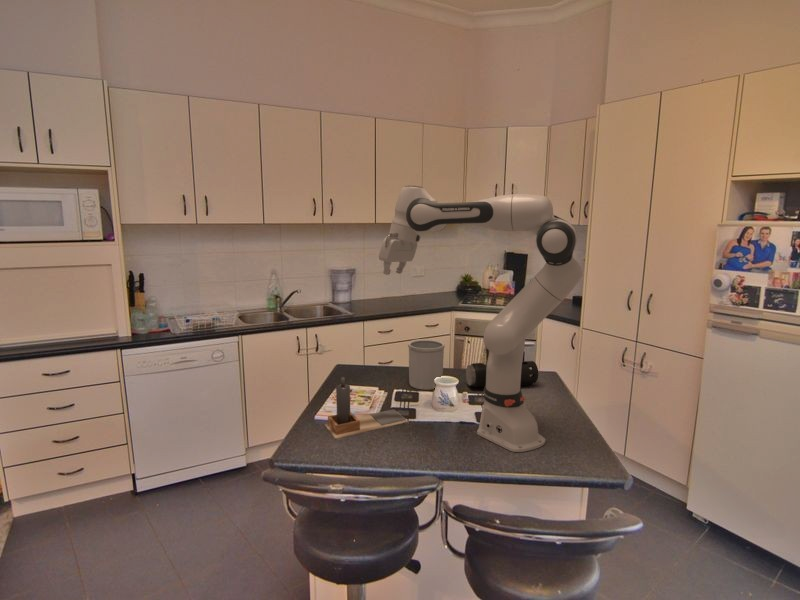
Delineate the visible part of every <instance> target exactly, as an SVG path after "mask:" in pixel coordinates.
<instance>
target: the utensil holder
mask: <svg viewBox="0 0 800 600" xmlns="http://www.w3.org/2000/svg"><path fill="white" fill-rule="evenodd" d="M407 345H408V346H407V347H408V377H409V378H408V381H409V386H410V387H412V388H414V389H417V390H425V391H427V390H428V391H429V390H430V391H431V390H435V389H434V388H435V384H434V379H435V378H436V377H441V376H444V353H445V352H444V351H445V343H444V342H443V341H441V340H437V339H433V338H432V339H429V338H422V339H421V338H420V339H418V338H417V339H413V340H410V341H409V342H408V344H407Z"/></svg>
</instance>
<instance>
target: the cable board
mask: <svg viewBox="0 0 800 600" xmlns="http://www.w3.org/2000/svg"><path fill="white" fill-rule="evenodd" d="M350 419H351V422H348V423H344V424H339V425H338V424H337V414H333V415H328V416H327V423H324V424H323V425H324V426H325V427H326V428H327V430H328V431H329V432H330V434H331V435H332V436H333V437H334V439H340V438H346V437H350V436H353V435H357V434H362V433H367V432H371V431H375V430H379V429H383V428H387V427H388V428H389V427H391V426H396V425H401V424H404V423H407V424H408V425H410V421H409V420H408V419H407V418H405V417H404V416H403V415H402V414H401V413H400V412H398V411H397V410H396V409H394V408H393V409H387V410H384V411H379V412H374V413H369V414H364V415H360V416H355V414H354V413H353V412H352V411H350Z"/></svg>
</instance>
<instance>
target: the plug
mask: <svg viewBox="0 0 800 600" xmlns="http://www.w3.org/2000/svg"><path fill="white" fill-rule="evenodd" d="M335 391H336V395H335V396H336V397H335V398H336V399H335V400H336V415H337V424H338V425H339V424H344V423H348V422H351V419H350V412H351V385H349V384H347V383H346V378H345V377H344V376H342V377H340V384H338V385H336V387H335Z"/></svg>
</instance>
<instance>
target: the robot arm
mask: <svg viewBox="0 0 800 600" xmlns="http://www.w3.org/2000/svg"><path fill="white" fill-rule="evenodd" d="M459 224H460V225H461V224H466V225H474V226H478V227H483V228H486V229H490V230H494V231H499V232H500V231H501V232H502V231H503V232H520V231H521V232H522V231H526V232H530V233H532V234H535V235H536V238H535V239H536V240H535V243H536V247H537V250H538V251H539V253H540V255H541V256H542V258H543V260H544V261H545V264H544V266H543V267H542V268H541V269H540V270H539V271H538V272H537V273H536V274H535V275H534V276H533V277H532V278H531V279H530V281H528V282H527V283H526V284H525V286H523V288H521V290H520V291H519V292H518V293H517V294H516V295H515V296H514V297H513V298H512V299H511V300H510V301H509V302H508V303H507V304H506V305H505V306H504V307H503V308H502V309H501V311H499V312H498V314H497V315H495V316H494V317H493V318H492V320H491V321H490V322H489V323H488V324H487V325H486V327H485V329H484V332H483V343H484V345H485V348H486V349H487V350H488V357H487V362H486V364H487V368H486V386H485V387H484V388H483V399H484V402H483V405H482V408H481V414H480V420H479V424H478V429H477V430H476V435H478V436H480V437H481V438H484V439H486V440H487V441H490V442H492V443H494V444H496V445H497V446H499V447H502V448H504V449H506V450H508V451H510V452H513V453H514V452H515V453H523V452H528V451H529V452H530V451H533V450H537V449H539V448H542V447H543V445H545V444H546V441H547V440H546V438H545V437H544V436H542V435H541V433H539V427H538V423H537V421H536V417H535V415H533V414H531V412H530V411H529V409H528V407H526V405H525V403H524V402H525V401H526V400H527V399H526V398H527V397H526V396H523V393H522V389H521V385H520V384H521V368H522V361H523V359H524V352H525V345H526V344H525V343H526V338H527V337H529V335H530V334H531V333H532V332H533V331H534V330H535V329H536V328H537V327H538V326H540V324H541V322H543V321H544V320H545V319H546V317H548V316H549V315H550V314H551V313H552V312H553V311H554V310H555V309H556V308H557V307H558V306H559V305H560V304H561V303H562V302H563V301H564V300H565V299H566V298H567V297H568V296H569V295H570V294H571V293H572V291H573V290H574V289H575V287H576V286H577V285H578V283H579V282H580V281H581V279H582V277H583V269H582V266H581V264H580V263H579V262H578V261H577V260H576V259H575V258H574V256H573V255H574V252H575V249H576V246H577V244H578V238H579V237H578V231H577V230H576V229H577V228H575V226H574V225H573V224H572V223H570V222H569V221H567V220H565V219H563V218H561V217H559V216H557V215H555V214H554V208H553V203H552V201H551V200H550V198H549V197H547V196H546V195H542V194H534V193H533V194H532V193H515V194H514V193H512V194H509V193H508V194H502V195H497V196H493V197H488V198H483V199H479V200H475V201H473V200H472V201H464V202H463V201H462V202H461V201H460V202H439V201H438V200H436V199H435V198H434V197H433V196H431V194H429V193H428V192H427V190H426V188H425V187H423V186H419V185H418V186H417V185H406V186H405V185H404V186H403V187H402V188H401V190H400V192H399V194H398V197H397V201H396V204H395V208H394V216H393V218H392V221H391V224H390V228H389V233H388V235H387V236H386V237H385V238H384V239H383V241H382V243H381V245H380V250H379V253H378V259H379V260H380V261H383V275H386V276H387V275H390V274H391V271H392V270H391V265H392V263H398V262H399V264H398V266H397V267H396V270H395V273H397V274H400V275H401V274H403V270H404V268H405V267H406V265H407V262H412V261H413V260H414V257H415V255H416V252H417V249H418V243H419V242H420V241H421V235H420V234H419V233H418V232H434V233H435V232H439V231H442V230H444V229H445V228H446V227H448V225H459Z"/></svg>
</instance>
